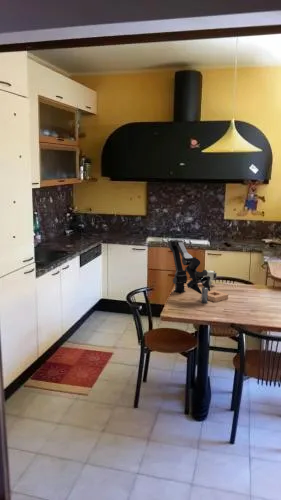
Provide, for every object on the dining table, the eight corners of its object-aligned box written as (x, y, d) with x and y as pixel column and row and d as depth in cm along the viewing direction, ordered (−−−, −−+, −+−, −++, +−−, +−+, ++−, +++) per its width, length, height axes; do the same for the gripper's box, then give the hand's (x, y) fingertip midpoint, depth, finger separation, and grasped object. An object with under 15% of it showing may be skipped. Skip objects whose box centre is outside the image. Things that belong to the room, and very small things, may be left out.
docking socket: (201, 297, 280) (201, 293, 279) (214, 294, 287) (214, 290, 287) (215, 302, 270) (215, 297, 269) (228, 298, 277) (228, 294, 277)
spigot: (200, 302, 269) (200, 287, 267) (204, 301, 271) (204, 286, 269) (204, 303, 266) (205, 289, 264) (208, 302, 268) (209, 288, 266)
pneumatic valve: (215, 286, 307) (216, 271, 305) (200, 285, 310) (200, 270, 308) (216, 284, 313) (216, 269, 310) (200, 283, 315) (201, 268, 313)
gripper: (190, 268, 261) (203, 288, 255) (208, 264, 274) (221, 283, 268) (181, 277, 268) (193, 297, 262) (199, 273, 281) (211, 292, 275)
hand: (205, 292), depth 267 cm, fingers open, 9 cm apart
